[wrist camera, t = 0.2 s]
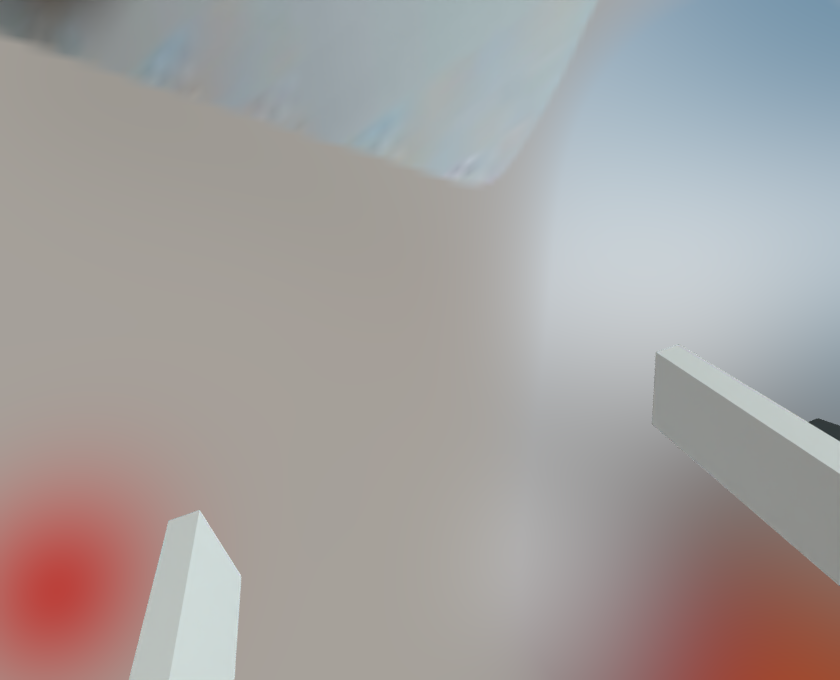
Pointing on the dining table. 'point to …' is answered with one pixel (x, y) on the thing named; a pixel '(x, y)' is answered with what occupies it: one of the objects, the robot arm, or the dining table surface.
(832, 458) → the robot arm
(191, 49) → the dining table surface
